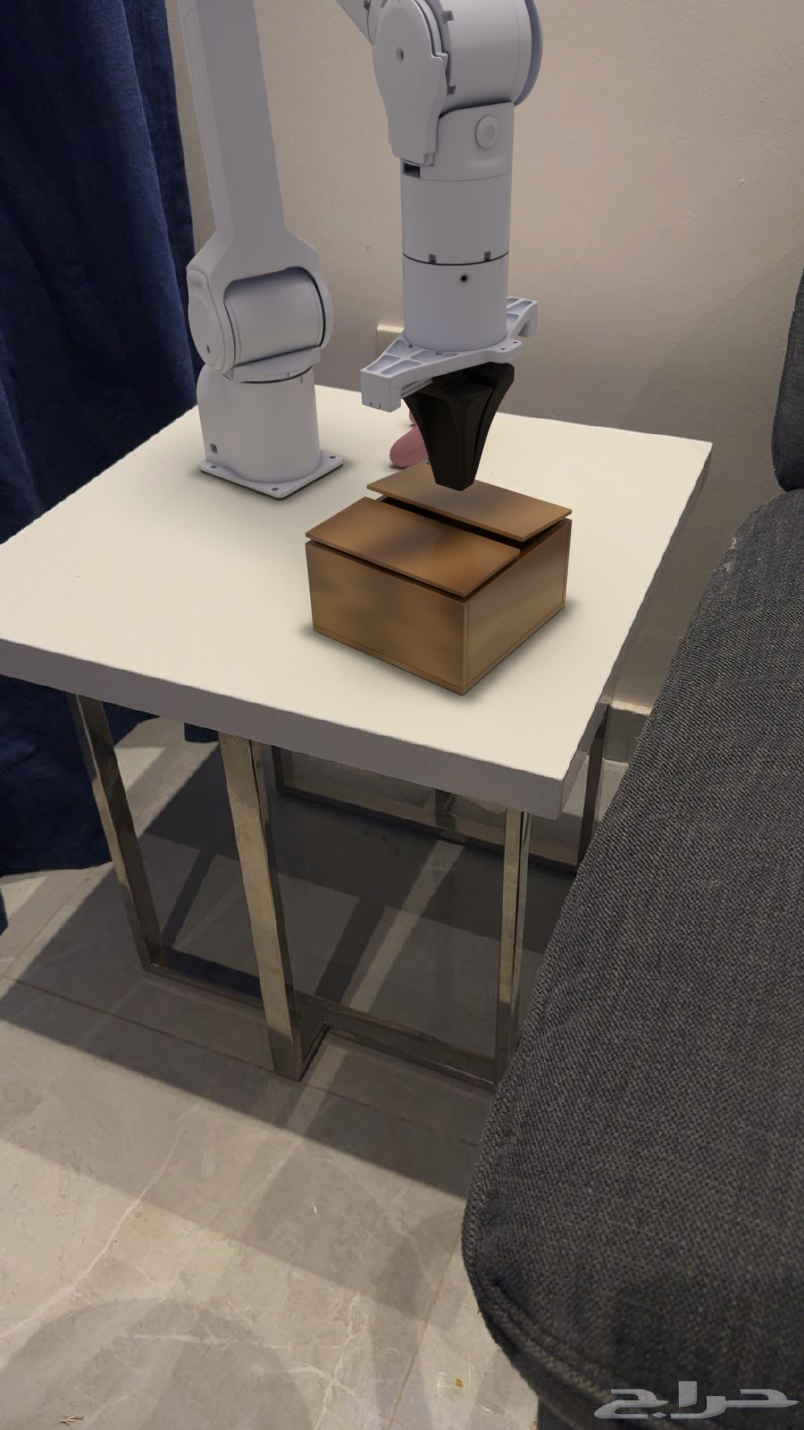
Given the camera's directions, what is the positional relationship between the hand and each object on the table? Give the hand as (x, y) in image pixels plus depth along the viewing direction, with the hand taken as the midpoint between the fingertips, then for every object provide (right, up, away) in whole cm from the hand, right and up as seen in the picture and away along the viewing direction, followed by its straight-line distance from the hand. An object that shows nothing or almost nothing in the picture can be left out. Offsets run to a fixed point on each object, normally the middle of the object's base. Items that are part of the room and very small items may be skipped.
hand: (454, 483), depth 64 cm
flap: (+1, -1, +2) cm, 2 cm away
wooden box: (-1, -8, +5) cm, 9 cm away
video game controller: (-1, +9, +25) cm, 27 cm away
